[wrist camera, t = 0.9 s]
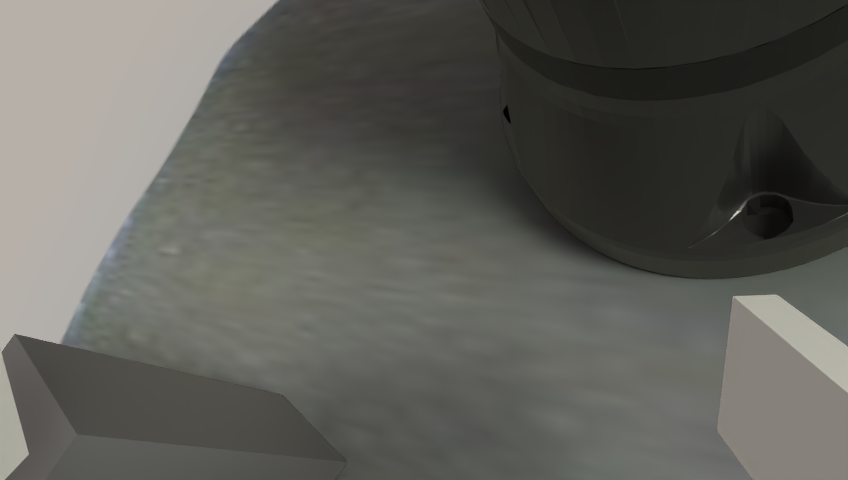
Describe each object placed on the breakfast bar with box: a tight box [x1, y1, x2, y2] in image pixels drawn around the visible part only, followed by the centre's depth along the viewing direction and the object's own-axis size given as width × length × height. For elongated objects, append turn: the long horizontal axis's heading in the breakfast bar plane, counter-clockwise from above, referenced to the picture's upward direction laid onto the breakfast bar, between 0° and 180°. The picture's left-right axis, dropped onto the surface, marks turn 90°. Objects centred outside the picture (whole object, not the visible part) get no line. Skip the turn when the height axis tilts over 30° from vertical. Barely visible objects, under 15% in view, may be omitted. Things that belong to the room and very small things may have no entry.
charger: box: [1, 334, 347, 480], centre depth 21 cm, size 4×5×12 cm
